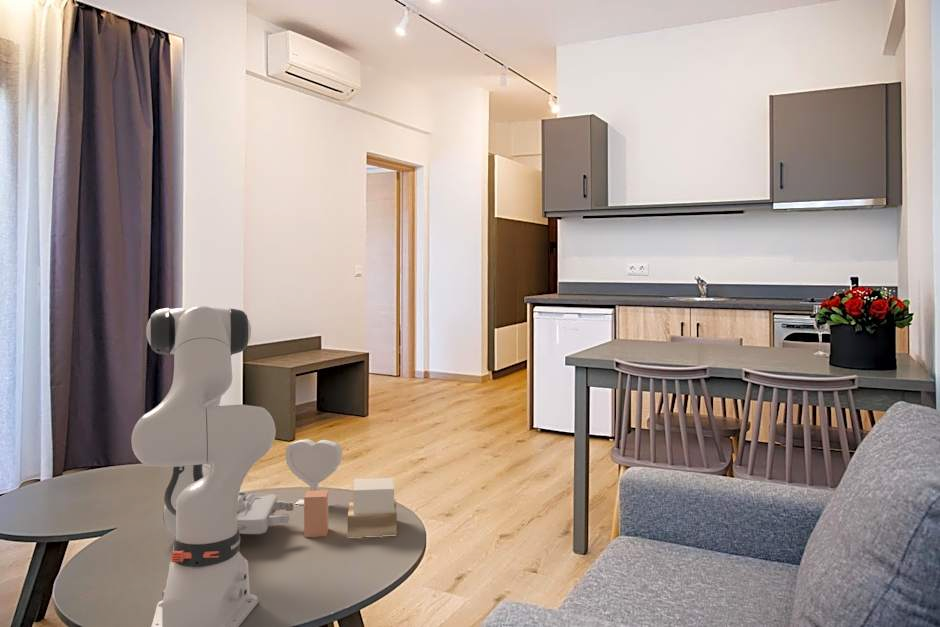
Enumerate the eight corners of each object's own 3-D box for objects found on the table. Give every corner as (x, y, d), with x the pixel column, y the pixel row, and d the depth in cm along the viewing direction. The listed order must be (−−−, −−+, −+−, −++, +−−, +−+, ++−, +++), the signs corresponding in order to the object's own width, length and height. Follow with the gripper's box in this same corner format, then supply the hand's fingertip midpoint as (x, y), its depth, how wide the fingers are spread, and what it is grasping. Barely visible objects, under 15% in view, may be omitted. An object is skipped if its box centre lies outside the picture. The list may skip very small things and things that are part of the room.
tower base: (396, 537, 172) (396, 514, 172) (347, 539, 171) (347, 515, 170) (395, 521, 184) (395, 499, 184) (349, 523, 183) (349, 500, 182)
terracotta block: (326, 536, 172) (326, 496, 172) (304, 537, 172) (304, 497, 171) (328, 528, 178) (328, 490, 177) (306, 529, 177) (306, 490, 176)
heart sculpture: (284, 504, 196) (284, 441, 196) (291, 499, 201) (291, 438, 201) (337, 507, 195) (337, 443, 194) (343, 501, 200) (342, 439, 199)
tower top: (394, 512, 173) (394, 488, 173) (353, 514, 172) (353, 490, 171) (392, 500, 183) (392, 477, 183) (354, 501, 181) (354, 479, 181)
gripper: (224, 515, 161) (285, 513, 163) (242, 489, 182) (296, 488, 183) (224, 542, 162) (285, 539, 163) (242, 513, 182) (296, 511, 184)
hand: (291, 512), depth 174 cm, fingers open, 8 cm apart
